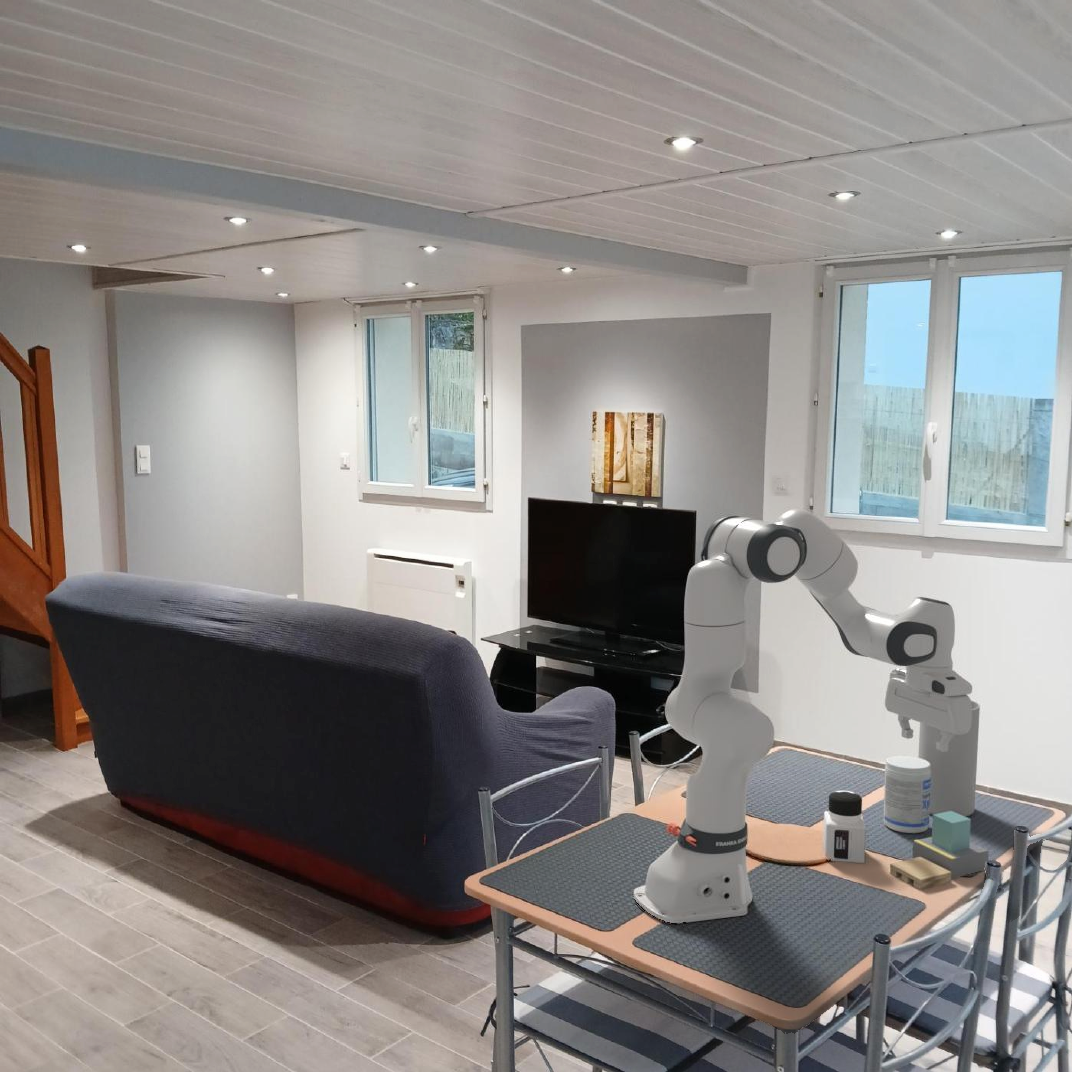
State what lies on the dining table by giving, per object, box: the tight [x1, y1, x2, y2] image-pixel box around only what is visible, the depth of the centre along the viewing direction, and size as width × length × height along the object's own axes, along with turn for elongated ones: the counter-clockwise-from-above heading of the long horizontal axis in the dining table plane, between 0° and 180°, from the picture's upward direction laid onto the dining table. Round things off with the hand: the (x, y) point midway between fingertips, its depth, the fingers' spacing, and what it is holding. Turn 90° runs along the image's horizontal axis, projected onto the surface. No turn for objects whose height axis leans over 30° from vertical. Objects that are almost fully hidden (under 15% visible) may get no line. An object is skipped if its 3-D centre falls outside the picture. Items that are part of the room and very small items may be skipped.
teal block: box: [931, 811, 972, 852], centre depth 213 cm, size 5×5×6 cm
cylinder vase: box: [917, 700, 981, 818], centre depth 243 cm, size 12×12×25 cm
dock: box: [912, 836, 989, 880], centre depth 214 cm, size 10×10×4 cm
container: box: [822, 790, 867, 864], centre depth 218 cm, size 8×8×13 cm
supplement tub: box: [883, 755, 931, 834], centre depth 233 cm, size 10×10×15 cm
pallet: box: [889, 857, 952, 890], centre depth 208 cm, size 8×8×2 cm
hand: (924, 744), depth 215 cm, fingers open, 8 cm apart
